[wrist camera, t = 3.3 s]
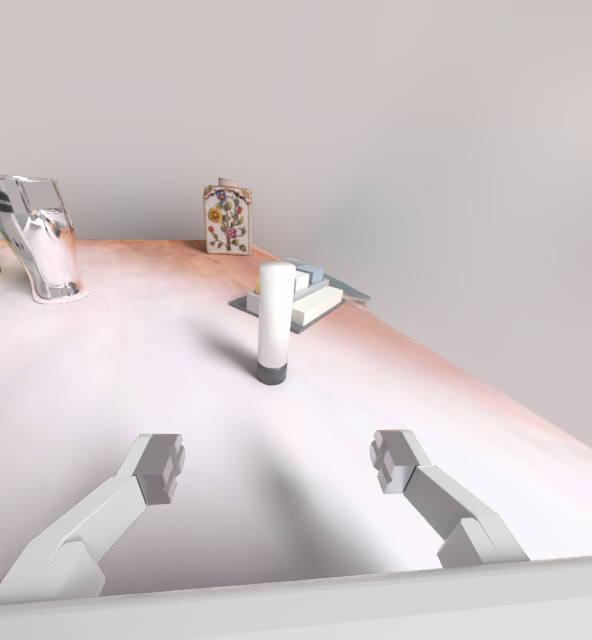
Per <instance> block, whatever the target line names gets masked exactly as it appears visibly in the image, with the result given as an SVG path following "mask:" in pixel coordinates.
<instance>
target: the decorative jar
mask: <svg viewBox="0 0 592 640" xmlns="http://www.w3.org/2000/svg"><path fill="white" fill-rule="evenodd" d="M251 199H252V198H251V191H250V190H248V189H243V188H238V180H235V179H226V178H219V185H218V186H212V185H209V186H206V187H205V189H204V195H203V204H204V219H205V234H206V248H207V253H208V254H219V255H243V256H251V252H252V220H251V219H252V213H251V210H252V209H251V205H252V201H251Z"/></svg>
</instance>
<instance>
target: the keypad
mask: <svg viewBox="0 0 592 640" xmlns="http://www.w3.org/2000/svg"><path fill="white" fill-rule="evenodd" d="M328 284H329V280H327V279H324V278H323V279H322V281H321V282H319V283H317V284H314V285H310V284H308V288H305V289H303V290H301V291H299V292H293V303H292V314H291V325H290V331H293V332H295V333H298V334H299V333H301V332H302V331H304V330H305V329H306V328H308V327H309V326H311V325H312V324H314V323H315V322H317V321H318V320H320V319H321V318H323V317H324V316H326V315H327V314H328V313H330V312H331V311H333V310H334V309H336V308H337V307H339V306H340V305H342V304H343V303H345V302H346V299H343V298H342V293H343V290H340V289H336V288H333V287H329V286H328ZM229 305H231V306H234V307H236V308H238V309H241V310H243V311H246V312H248V313H250V314H253V315H255V316H257V317H259V295H257V294H256V290H254V291H251V292H248V293H247V296H244V297H242V298H239V299H236V300H233V301H231V302H229Z"/></svg>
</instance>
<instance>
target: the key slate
mask: <svg viewBox="0 0 592 640" xmlns="http://www.w3.org/2000/svg"><path fill="white" fill-rule="evenodd" d="M296 271H300V272H304V273H307V274H309V282H308V284H310V285H314V284H317V283H319V282H321V281H322V279H323V272H324V269H323V268H319V267H315V266H311V265H308V264H305V265H302V266H299V267H296Z"/></svg>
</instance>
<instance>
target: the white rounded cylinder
mask: <svg viewBox="0 0 592 640" xmlns="http://www.w3.org/2000/svg"><path fill="white" fill-rule="evenodd" d="M295 270H296V267H295V265H293V264H290V263H287V262H281V261H267V262H263V263H261V264H260V287H259V332H258V379H259V380H260V381H261V382H262V383H264V384H267V385H277V384H280V383H282V382H283V381H284V380H285V378H286V370H287V359H288V348H289V337H290V325H291V314H292V303H293V292H294V281H295Z"/></svg>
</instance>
